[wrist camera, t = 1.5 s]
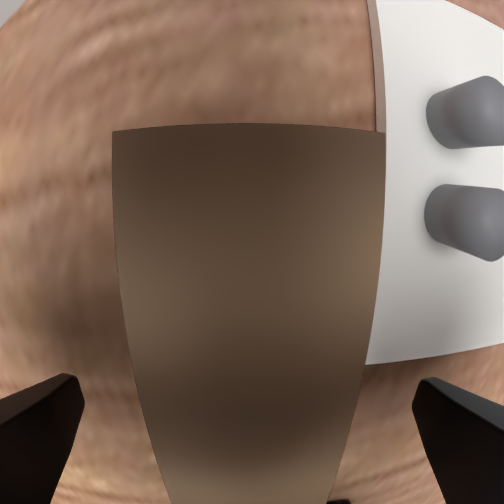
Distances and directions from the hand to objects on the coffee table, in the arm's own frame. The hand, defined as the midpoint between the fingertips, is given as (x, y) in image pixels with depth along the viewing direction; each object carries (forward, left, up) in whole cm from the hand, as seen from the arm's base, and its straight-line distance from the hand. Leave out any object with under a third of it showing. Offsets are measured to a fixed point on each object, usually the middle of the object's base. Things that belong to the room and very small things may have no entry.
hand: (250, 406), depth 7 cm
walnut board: (0, 0, -4) cm, 4 cm away
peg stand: (+6, -12, -4) cm, 14 cm away
